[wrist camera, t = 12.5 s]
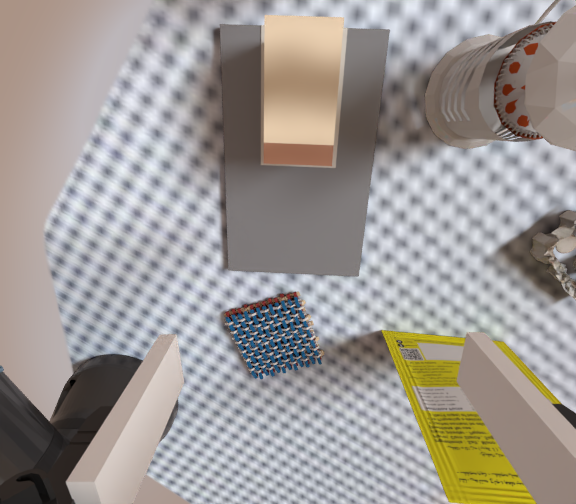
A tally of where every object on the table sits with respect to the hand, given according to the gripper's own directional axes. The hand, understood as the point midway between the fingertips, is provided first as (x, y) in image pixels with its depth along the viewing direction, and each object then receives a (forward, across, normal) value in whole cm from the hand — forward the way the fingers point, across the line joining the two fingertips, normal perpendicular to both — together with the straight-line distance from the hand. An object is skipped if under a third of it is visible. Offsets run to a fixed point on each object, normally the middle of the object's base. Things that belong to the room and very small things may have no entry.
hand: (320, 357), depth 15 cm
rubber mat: (+23, -1, +6) cm, 23 cm away
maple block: (+22, 0, +12) cm, 25 cm away
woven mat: (+24, -4, -15) cm, 28 cm away
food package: (+23, +17, -15) cm, 32 cm away
